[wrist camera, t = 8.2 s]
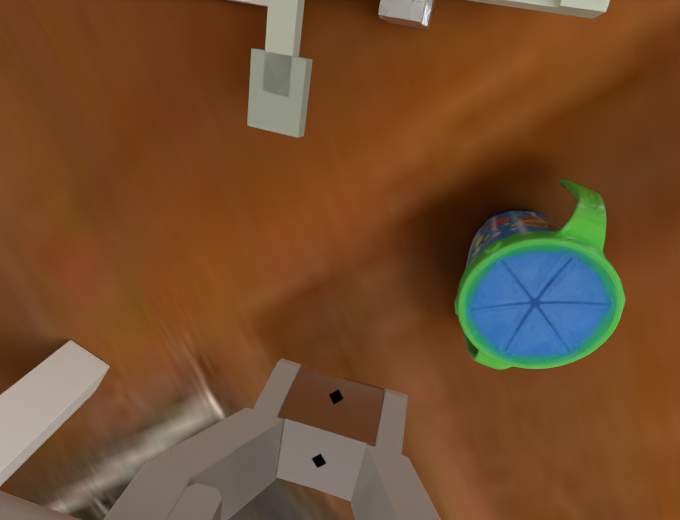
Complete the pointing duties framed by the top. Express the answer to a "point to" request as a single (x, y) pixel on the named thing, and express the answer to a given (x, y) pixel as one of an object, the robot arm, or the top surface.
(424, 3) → the stand
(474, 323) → the snack cup
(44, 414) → the milk
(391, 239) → the top surface
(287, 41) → the lever
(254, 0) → the white flat rimmed tray
